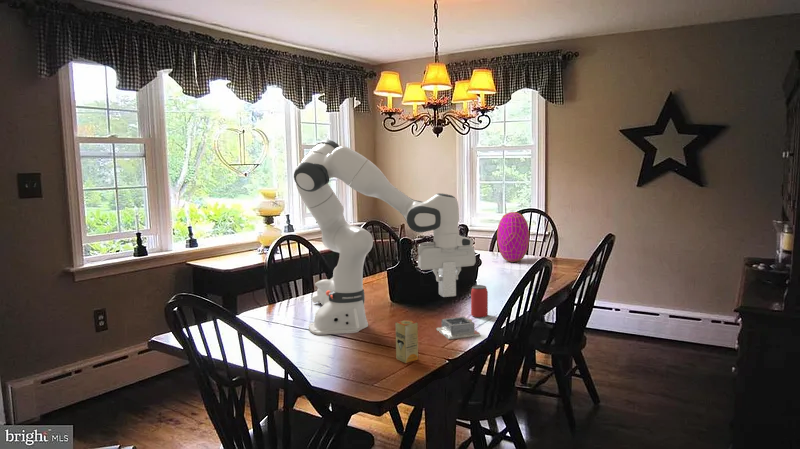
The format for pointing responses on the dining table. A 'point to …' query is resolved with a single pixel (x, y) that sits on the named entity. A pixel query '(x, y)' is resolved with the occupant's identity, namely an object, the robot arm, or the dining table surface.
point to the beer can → (479, 301)
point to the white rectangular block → (447, 279)
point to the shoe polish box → (407, 341)
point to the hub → (457, 328)
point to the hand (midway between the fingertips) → (447, 280)
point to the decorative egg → (513, 236)
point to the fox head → (323, 291)
